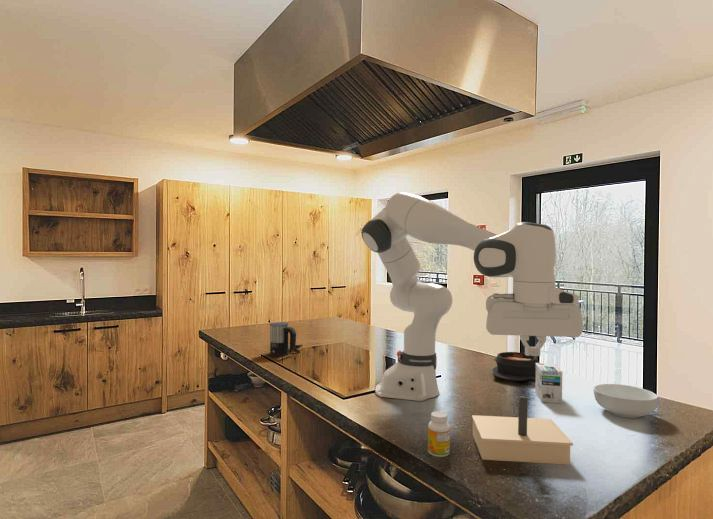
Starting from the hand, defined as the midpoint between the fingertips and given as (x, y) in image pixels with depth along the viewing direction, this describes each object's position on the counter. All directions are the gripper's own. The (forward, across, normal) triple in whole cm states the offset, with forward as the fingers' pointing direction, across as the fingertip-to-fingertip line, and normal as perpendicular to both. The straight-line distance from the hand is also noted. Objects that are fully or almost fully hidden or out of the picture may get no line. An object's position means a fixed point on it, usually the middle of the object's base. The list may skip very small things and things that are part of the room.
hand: (532, 355), depth 98 cm
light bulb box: (+27, +21, +53) cm, 63 cm away
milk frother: (+27, -85, +105) cm, 138 cm away
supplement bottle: (+27, -20, +7) cm, 34 cm away
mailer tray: (+27, 0, +11) cm, 29 cm away
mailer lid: (+22, 0, +11) cm, 24 cm away
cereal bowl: (+27, +40, +41) cm, 63 cm away
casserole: (+27, +17, +78) cm, 84 cm away
